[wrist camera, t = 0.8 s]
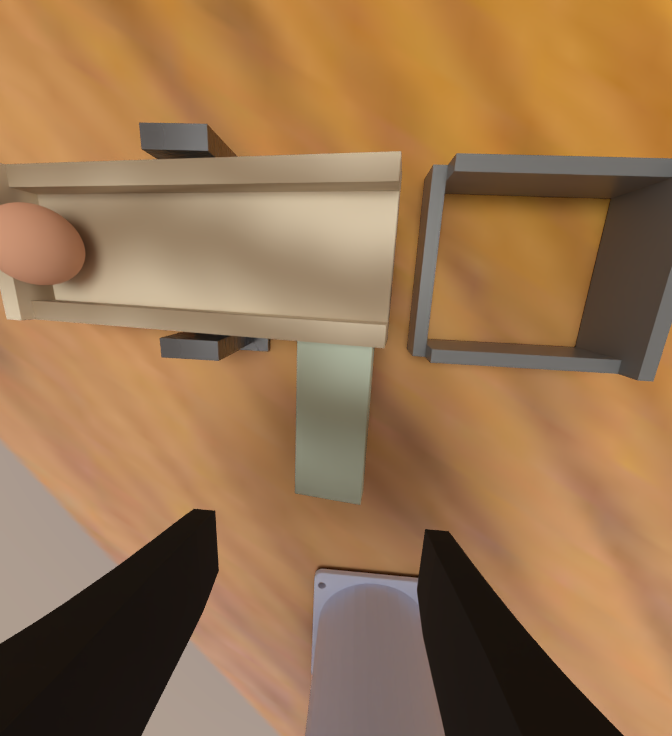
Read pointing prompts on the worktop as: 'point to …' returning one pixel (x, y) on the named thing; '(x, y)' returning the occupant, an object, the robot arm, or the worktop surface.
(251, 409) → the worktop surface
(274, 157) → the lever
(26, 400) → the worktop surface
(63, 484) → the worktop surface
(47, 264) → the ball
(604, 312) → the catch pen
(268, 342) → the pivot stand
